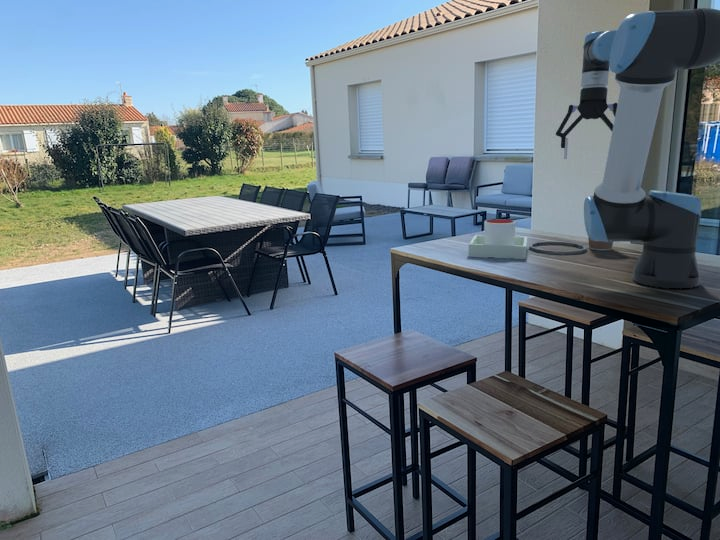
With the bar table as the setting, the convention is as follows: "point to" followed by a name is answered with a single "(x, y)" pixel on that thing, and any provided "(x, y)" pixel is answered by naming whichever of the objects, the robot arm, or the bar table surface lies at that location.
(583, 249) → the socket ring
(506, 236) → the cup
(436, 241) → the bar table surface
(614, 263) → the bar table surface
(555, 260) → the bar table surface
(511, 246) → the bin
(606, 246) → the coffee cup
